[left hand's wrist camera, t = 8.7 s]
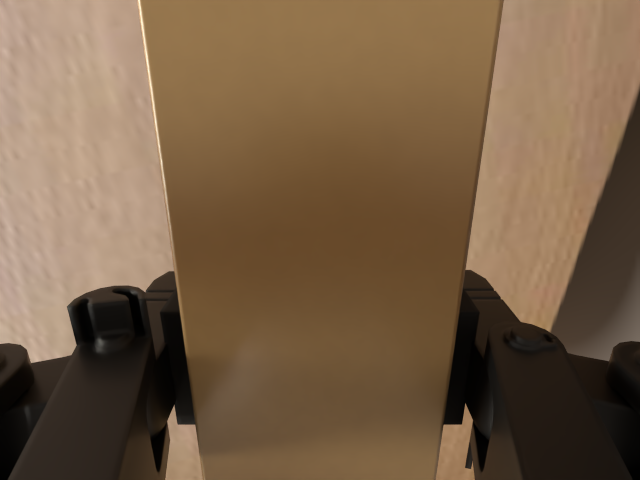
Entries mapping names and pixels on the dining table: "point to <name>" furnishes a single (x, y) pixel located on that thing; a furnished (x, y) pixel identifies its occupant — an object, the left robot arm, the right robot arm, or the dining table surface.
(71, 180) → the dining table surface
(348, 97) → the bar
